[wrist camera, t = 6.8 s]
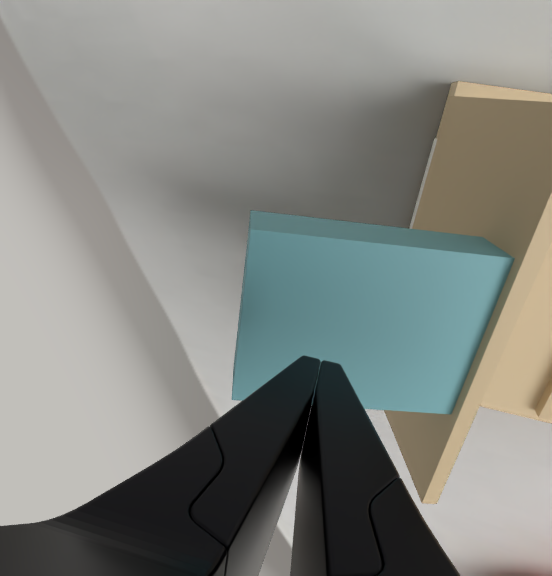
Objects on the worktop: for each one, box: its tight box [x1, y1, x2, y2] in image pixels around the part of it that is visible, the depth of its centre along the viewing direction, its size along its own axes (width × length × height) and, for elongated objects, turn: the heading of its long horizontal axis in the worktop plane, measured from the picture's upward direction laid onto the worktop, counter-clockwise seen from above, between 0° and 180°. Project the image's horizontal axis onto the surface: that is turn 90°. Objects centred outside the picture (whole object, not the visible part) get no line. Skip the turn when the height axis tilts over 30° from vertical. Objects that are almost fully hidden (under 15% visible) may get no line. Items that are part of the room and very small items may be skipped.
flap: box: [232, 96, 552, 504], centre depth 14 cm, size 7×12×7 cm
